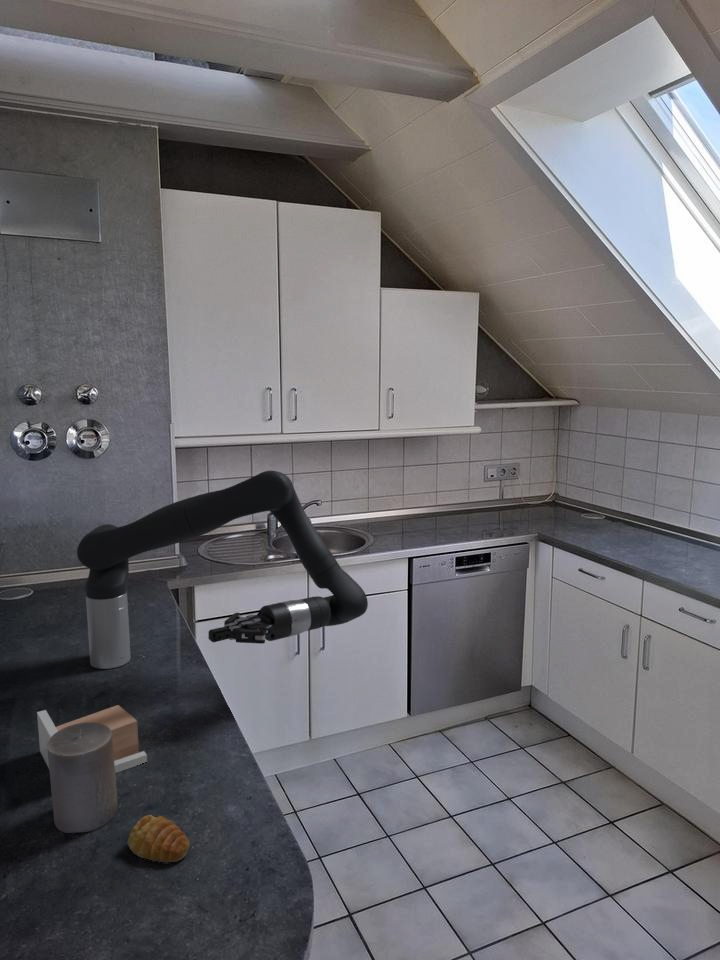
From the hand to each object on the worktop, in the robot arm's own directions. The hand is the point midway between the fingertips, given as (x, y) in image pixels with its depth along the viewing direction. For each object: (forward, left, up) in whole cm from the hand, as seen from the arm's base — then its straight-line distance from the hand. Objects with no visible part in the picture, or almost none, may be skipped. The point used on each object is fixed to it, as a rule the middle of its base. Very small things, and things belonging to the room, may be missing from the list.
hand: (210, 636), depth 140 cm
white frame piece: (0, -23, -18) cm, 29 cm away
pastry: (+30, -23, -18) cm, 42 cm away
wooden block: (+1, -23, -18) cm, 29 cm away
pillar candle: (+16, -30, -18) cm, 38 cm away
